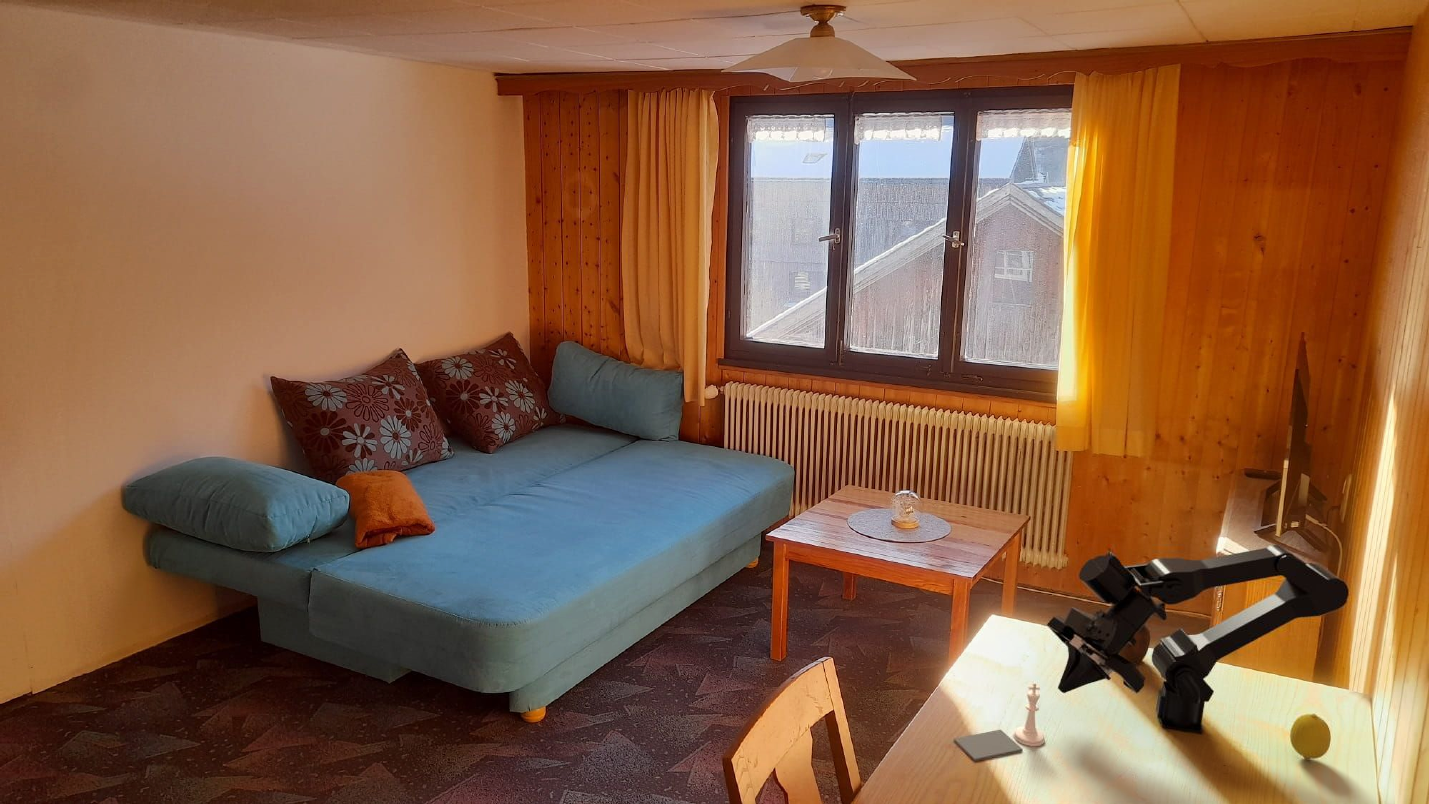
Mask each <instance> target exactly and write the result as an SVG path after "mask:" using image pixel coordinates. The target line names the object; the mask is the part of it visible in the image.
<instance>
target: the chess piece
mask: <svg viewBox="0 0 1429 804" xmlns="http://www.w3.org/2000/svg"><path fill="white" fill-rule="evenodd" d="M1028 690H1029V691H1027V692H1026V696H1027V699H1028V703H1026V705H1025V709H1026V710H1028V712H1027V716H1026V721H1025V724H1024V725H1022V726H1018V727H1016V728H1015V729H1014V731H1013V738H1014V739H1015V741H1017V742H1018V743H1020V744H1022V745H1025V746H1028V747H1038V746H1041V745H1042V746H1043V744H1044V743H1045V742H1046V741H1045V734H1044V733H1043V731H1041V730H1040V729H1038V728H1037V727H1036V712H1038V711H1039V710H1040V707H1039V705H1037V704H1038V701H1039V699H1040V698H1041V694H1040V692H1038V691H1040V690H1041V686H1040V685H1037V683H1036V682H1032V685H1028Z"/></svg>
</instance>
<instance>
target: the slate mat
mask: <svg viewBox="0 0 1429 804" xmlns="http://www.w3.org/2000/svg"><path fill="white" fill-rule="evenodd" d="M953 741H955V742H954V743H955V744H956V745H957V746H959V748H961V749H962V751H964V752H965V753H966V754H967V756H969V758H970V759H972V760H973V761H974V762H976V761H983V760H988V759H991V758H997V757H1001V756H1005V755H1010V754H1016V753H1020V752H1023V748H1022V747H1021V746H1020V745H1019V744H1018V743H1016V741H1014V740H1013V739H1012V738H1011V737H1010V736H1008V735H1007V734H1006V733H1005V732H1004V731H1003V729H996V730H991V731H986V732H980V733H975V734H971V735H965V736H961V737H960V736H959V737H956V738H953Z"/></svg>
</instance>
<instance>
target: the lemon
mask: <svg viewBox="0 0 1429 804" xmlns="http://www.w3.org/2000/svg"><path fill="white" fill-rule="evenodd" d="M1289 737H1290V743H1291V746H1292V748H1293V749H1294V751H1295V752H1296V753H1297V754H1298V755H1300V756H1302V757H1303V759H1304V760H1306V761H1307V760H1308V761H1309V760H1311V759H1313V760H1314V759H1319V758H1321V757H1323V756H1324V755H1326V754H1327V753H1328V751H1329V748H1330V745H1331V739H1332V736H1331V730H1330V727H1329V725H1328V724H1327V722H1326V721H1325V720H1324V719H1323V718H1321V717H1320V716H1318V715H1317V714H1315V713H1311V714H1310V713H1308V714H1303V715H1300V716H1298V717H1297V718H1296V719H1295V721H1294V722H1293V724H1292V727H1291V729H1290V735H1289Z"/></svg>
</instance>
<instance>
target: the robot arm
mask: <svg viewBox="0 0 1429 804" xmlns="http://www.w3.org/2000/svg"><path fill="white" fill-rule="evenodd" d="M1278 576H1279V577H1281V576H1282V577H1284V580H1283V581H1282V583H1281V584H1280V586H1279V588H1278V589H1277V591H1276V592H1274V593H1273V594H1271V595H1268V596H1267V597H1265V598H1264V599H1261V600H1260V601H1259V602H1257V603H1255V604H1252V605H1251V606H1249V607H1247V608H1245V609H1243V610H1242V611H1240V612H1238V613H1235V614H1234V615H1233V616H1230V617H1228V618H1227V619H1224V620H1223V621H1222V622H1219V623H1218V624H1215V625H1214V626H1212V627H1210V628H1209V629H1206V630H1204V631H1203V632H1200V633H1198V634H1189V635H1188V634H1187V633H1186V632H1185V631H1184V630H1183V628H1181V629H1178V630H1176V631H1175V632H1173V633H1171V634H1170V635H1169V636H1167V637H1163V638H1159V642H1158V644H1156V645H1155V646H1154V648H1153V649H1152V650H1153V651H1152V654H1151V661H1152V664H1153V666H1154V667H1155V669H1156V670H1157V671H1158V673H1160V676H1161V677H1162V679H1164V680H1163V682H1162V689H1158V690H1157V698H1156V704H1155V705H1156V707H1155V713H1156V716H1157V717H1156V718H1158V719H1159V721H1160V725H1161V727H1162V728H1165V729H1171V730H1177V731H1184V732H1191V733H1197V734H1203V733H1204V727H1203V725H1202V723H1203V716H1204V710H1205V704H1206V703H1208V702H1209V701H1210V700H1211V698H1212V696H1213V695H1214V692H1215V691H1214V689H1213V688H1212V687H1211V685H1210V684H1208V682H1207V681H1206V680H1205V679H1206V678H1207V677H1208V676H1209V675H1210V673H1211V672H1212V670H1213V668H1214V667H1215V666H1216V664H1217V662H1218V661H1220V660H1222V658H1225V657H1227V656H1228V655H1230V654H1232V653H1234V652H1236V651H1238V650H1240V649H1242V648H1245V646H1247V645H1249V644H1251V643H1253V642H1255V641H1256V640H1258V639H1260V638H1263V637H1264V636H1266V635H1268V634H1270V633H1272V632H1274V631H1275V630H1277V629H1279V628H1281V627H1283V626H1284V625H1286V624H1288V623H1291V622H1292V621H1294V620H1296V619H1301V618H1312V617H1321V616H1324V615H1327V614H1330V613H1333V612H1335V611H1337V610H1340V609H1342V608H1343V607H1344V606H1345V605H1346V604H1347V602H1348V601H1347V600H1348V598H1349V594H1350V593H1349V587H1348V584H1346V582H1345V581H1344V580H1343V579H1341V578H1339V577H1338V576H1337V575H1336V574H1334V573H1333V572H1331V571H1330V570H1328V568H1325V567H1324V566H1323V565H1321V564H1317V563H1312V562H1309V563H1306V562H1304V560H1302V559H1300V558H1299V557H1297V556H1296V555H1294V553H1292V552H1290V551H1289V550H1288V549H1286V548H1285V547H1283V546H1282V545H1279V544H1270V545H1268V546H1267V547H1264V548H1258V549H1252V550H1247V551H1243V552H1237V553H1231V554H1226V555H1221V556H1216V557H1210V558H1204V559H1200V560H1199V559H1198V560H1197V559H1196V560H1194V559H1193V560H1191V559H1186V558H1179V557H1169V558H1168V557H1167V558H1155V559H1152V560H1150V561H1149V562H1147V563H1145V564H1144V563H1143V564H1135V565H1128V566H1124V564H1122V562H1121V560H1120V559H1119V558H1118V557H1117V556H1116V555H1115V553H1113V552H1112V551H1109V552H1107V553H1106V554H1105V555H1098V556H1095V557H1093V558H1090V559H1088V560H1087V561H1086V562H1085V563H1084V565H1083V566H1082V567H1081V568H1080V571H1079V573H1078V577H1079V580H1080V581H1082V583H1084V585H1085V586H1086V587H1087V588H1089V590H1091V591H1092V592H1093V593H1094V595H1096V596H1097V597H1098V598H1099V599H1100V600H1101V602H1103V603H1106V604H1111V605H1110V606H1109V608H1107V610H1106V611H1103V610H1101V609H1099V610H1097V611H1096V612H1095V613H1094V614H1091V613H1089V612H1087V611H1083V610H1082V609H1078V608H1076V607H1073V606H1071V607H1070V609H1069V612H1068V613H1067V615H1066V618H1064V617H1062V616H1061V615H1058V616H1053V617H1052V618H1051V619H1050V620H1049V621H1048V623H1047V624H1046V626H1047V627H1048V629H1050V630H1051V632H1052V633H1053V634H1054V635H1055V636H1056V637H1057V638H1058V639H1059V640H1060V641H1061V643H1063V644H1064V645H1065V646H1066V647H1067V651H1068V658H1067V661H1066V664H1065V667H1064V671H1063V673H1062V675H1061V678H1060V681H1059V683H1058V686H1057V689H1058V690H1059V692H1061V693H1063V694H1066V693H1068V692H1071V691H1073V690H1077V689H1078V688H1081V687H1084V686H1086V685H1089V684H1092V683H1095V682H1098V681H1103V680H1107V681H1110V680H1111V677H1110V675H1111V674H1112V673H1113V672H1114V673H1115V674H1117V675H1118V676H1120V677H1121V678H1122V680H1123V682H1122V683H1123V685H1124V687H1126V688H1127V689H1130V690H1131V691H1132V692H1133V693H1134V694H1136V695H1137V694H1139V692H1141V690H1142V689H1143V688H1144V687H1145V681H1146V677H1145V676H1144V675H1143V674H1142V673H1141V671H1139V670H1138V668H1137V667H1136V666H1135V665H1134V664H1132V663H1131V662H1129V661H1128V660H1126V659H1125V658H1123V657H1122V656H1120V655H1119V653H1120V652H1121V650H1122V649H1123V648H1124V647H1125V646H1126V645H1127V644H1128V643H1130V644H1131V645H1134V644H1135V643H1136V642H1137V641H1136V639H1135V638H1134V636H1135V635H1136V633H1137V632H1138V631H1139V630H1140V629H1141V628H1142V627H1143V626H1144V624H1145V623H1147V622H1148V621H1149V620H1150V619H1151V618H1152V617H1156V618H1158V619H1160V620H1162V621H1166V620H1167V618H1168V617H1167V612H1166V605H1172V606H1173V605H1177V604H1181V603H1183V602H1186V601H1189V600H1192V599H1195V598H1196V597H1198V596H1199V595H1200V594H1201V593H1203V592H1204V591H1206V590H1210V589H1212V588H1217V587H1218V588H1219V587H1224V586H1229V585H1235V584H1240V583H1245V582H1252V581H1258V580H1263V579H1269V578H1273V577H1278ZM1136 587H1137V588H1138V589H1137V588H1136ZM1138 590H1139V591H1138ZM1155 598H1156V599H1157V600H1155ZM1145 625H1146V624H1145ZM1205 702H1206V703H1205Z"/></svg>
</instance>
